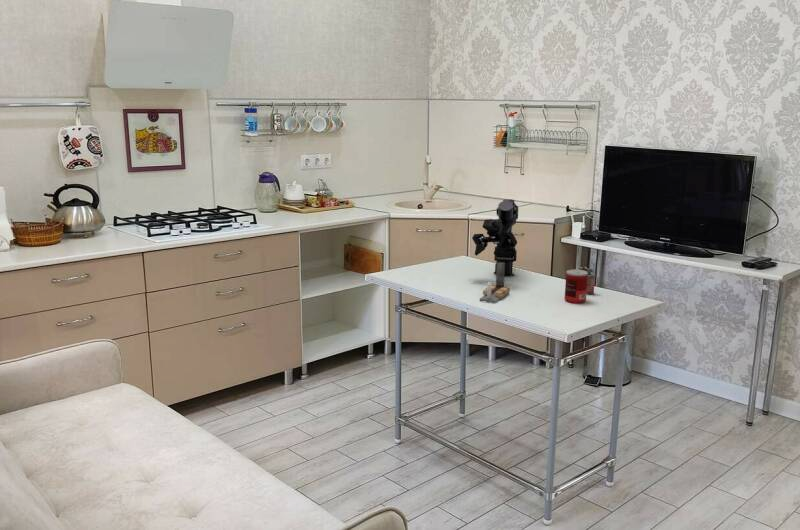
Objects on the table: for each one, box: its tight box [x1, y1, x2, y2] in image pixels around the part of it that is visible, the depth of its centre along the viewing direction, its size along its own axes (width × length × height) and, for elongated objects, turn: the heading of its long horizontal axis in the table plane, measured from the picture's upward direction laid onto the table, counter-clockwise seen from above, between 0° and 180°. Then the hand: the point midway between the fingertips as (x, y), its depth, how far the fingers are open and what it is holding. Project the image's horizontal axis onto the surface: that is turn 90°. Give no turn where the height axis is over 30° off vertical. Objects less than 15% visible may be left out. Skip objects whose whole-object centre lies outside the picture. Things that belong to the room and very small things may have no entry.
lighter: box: [578, 266, 597, 296], centre depth 270 cm, size 8×3×10 cm, turn 47°
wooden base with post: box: [482, 262, 511, 297], centre depth 264 cm, size 10×7×11 cm
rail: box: [479, 281, 510, 304], centre depth 263 cm, size 16×6×7 cm, turn 153°
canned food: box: [564, 269, 589, 305], centre depth 259 cm, size 8×8×11 cm
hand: (484, 254), depth 275 cm, fingers open, 9 cm apart
